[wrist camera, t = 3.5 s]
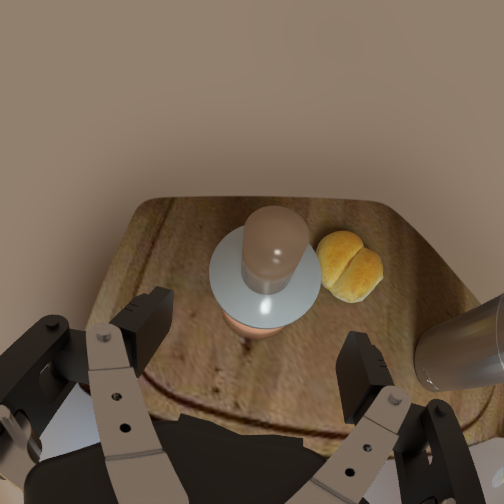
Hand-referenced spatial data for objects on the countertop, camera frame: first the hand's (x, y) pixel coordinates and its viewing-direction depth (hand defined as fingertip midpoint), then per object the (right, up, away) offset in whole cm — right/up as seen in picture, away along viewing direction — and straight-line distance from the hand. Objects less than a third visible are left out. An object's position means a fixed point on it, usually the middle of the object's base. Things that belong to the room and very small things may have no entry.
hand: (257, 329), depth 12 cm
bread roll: (+11, +1, +22) cm, 25 cm away
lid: (+1, +1, +12) cm, 12 cm away
